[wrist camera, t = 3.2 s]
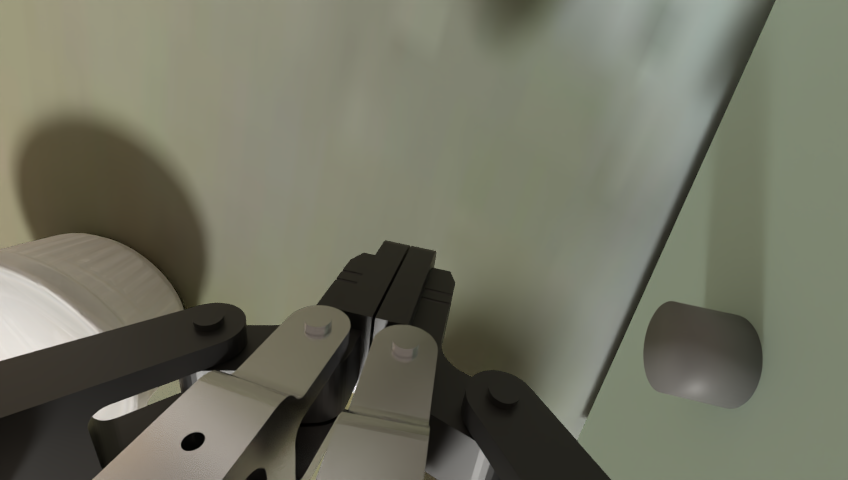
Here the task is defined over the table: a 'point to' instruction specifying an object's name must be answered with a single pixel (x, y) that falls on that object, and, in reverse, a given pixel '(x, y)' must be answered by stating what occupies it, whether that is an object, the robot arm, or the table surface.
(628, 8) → the table surface
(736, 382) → the drawer
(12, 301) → the ramekin
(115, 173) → the table surface
